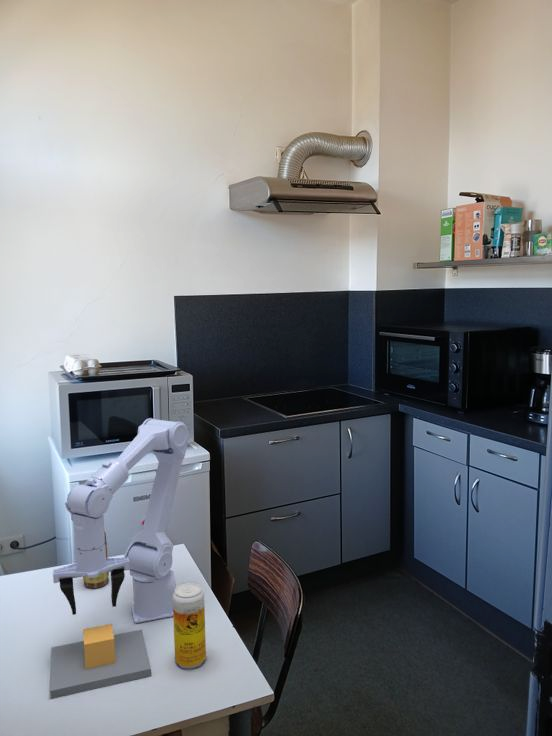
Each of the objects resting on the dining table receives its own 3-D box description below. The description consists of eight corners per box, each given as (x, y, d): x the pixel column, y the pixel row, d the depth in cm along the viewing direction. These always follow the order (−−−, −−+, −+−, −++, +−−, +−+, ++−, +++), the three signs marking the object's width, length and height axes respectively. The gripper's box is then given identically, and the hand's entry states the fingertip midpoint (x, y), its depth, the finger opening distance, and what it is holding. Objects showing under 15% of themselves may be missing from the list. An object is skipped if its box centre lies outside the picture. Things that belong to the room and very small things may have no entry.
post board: (142, 635, 127) (141, 614, 126) (151, 675, 114) (150, 651, 113) (51, 654, 121) (50, 631, 120) (50, 698, 108) (48, 673, 107)
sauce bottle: (90, 576, 153) (85, 502, 151) (113, 578, 152) (109, 503, 150) (78, 589, 147) (73, 512, 144) (102, 591, 146) (98, 513, 143)
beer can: (180, 674, 114) (178, 600, 112) (171, 656, 120) (168, 586, 118) (210, 664, 117) (208, 592, 115) (199, 648, 123) (197, 579, 120)
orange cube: (113, 646, 121) (111, 623, 120) (115, 662, 116) (114, 638, 115) (84, 652, 119) (83, 629, 118) (85, 669, 114) (84, 644, 113)
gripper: (51, 559, 113) (56, 626, 115) (129, 546, 118) (133, 610, 120) (51, 544, 119) (56, 607, 121) (125, 532, 124) (129, 593, 126)
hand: (94, 608), depth 121 cm, fingers open, 7 cm apart
